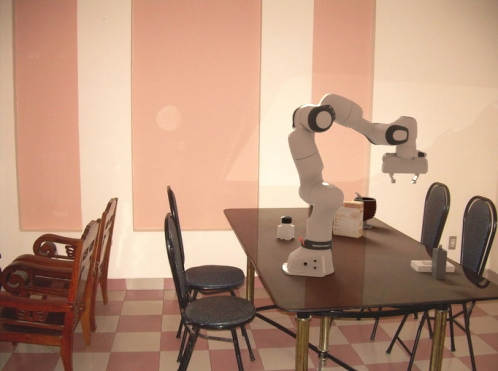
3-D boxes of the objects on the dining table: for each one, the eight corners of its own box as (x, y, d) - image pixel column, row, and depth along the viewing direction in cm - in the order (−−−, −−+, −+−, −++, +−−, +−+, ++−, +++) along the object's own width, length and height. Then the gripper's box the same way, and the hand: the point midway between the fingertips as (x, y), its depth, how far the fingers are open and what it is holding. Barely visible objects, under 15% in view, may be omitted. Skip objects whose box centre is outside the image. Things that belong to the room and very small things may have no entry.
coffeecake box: (362, 235, 273) (364, 201, 270) (358, 238, 266) (360, 203, 264) (337, 232, 280) (338, 198, 277) (332, 234, 274) (334, 200, 271)
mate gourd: (380, 227, 293) (382, 194, 290) (363, 229, 286) (364, 196, 283) (362, 222, 307) (364, 191, 304) (345, 224, 300) (347, 192, 297)
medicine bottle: (294, 237, 265) (295, 216, 263) (288, 240, 259) (289, 218, 257) (283, 235, 269) (283, 214, 267) (276, 238, 263) (277, 217, 261)
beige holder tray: (417, 275, 207) (418, 265, 206) (410, 269, 214) (411, 260, 214) (454, 275, 207) (454, 266, 207) (445, 269, 215) (446, 260, 214)
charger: (435, 280, 197) (438, 246, 195) (430, 277, 202) (433, 243, 200) (445, 280, 198) (447, 246, 195) (440, 277, 202) (442, 243, 200)
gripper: (384, 153, 213) (383, 184, 215) (430, 153, 214) (428, 184, 216) (380, 151, 219) (378, 182, 221) (424, 152, 220) (422, 182, 222)
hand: (403, 183), depth 219 cm, fingers open, 8 cm apart
